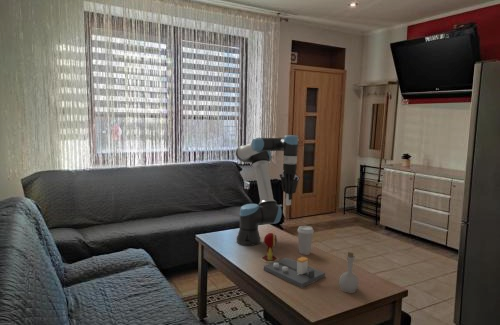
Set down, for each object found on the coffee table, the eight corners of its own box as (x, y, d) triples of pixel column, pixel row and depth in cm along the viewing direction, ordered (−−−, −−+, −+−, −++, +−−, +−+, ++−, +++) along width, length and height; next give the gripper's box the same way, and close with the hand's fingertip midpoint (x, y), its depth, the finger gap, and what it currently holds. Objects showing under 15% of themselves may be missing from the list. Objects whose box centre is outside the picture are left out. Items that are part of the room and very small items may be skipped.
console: (263, 269, 178) (263, 260, 178) (286, 260, 190) (287, 252, 190) (301, 287, 160) (302, 277, 159) (324, 276, 172) (325, 267, 171)
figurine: (279, 262, 187) (280, 236, 185) (260, 262, 187) (261, 235, 185) (277, 256, 196) (278, 231, 194) (260, 256, 196) (261, 230, 194)
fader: (296, 272, 171) (297, 258, 170) (302, 269, 174) (302, 256, 173) (301, 274, 168) (302, 260, 167) (307, 272, 171) (308, 258, 171)
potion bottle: (334, 289, 160) (337, 251, 157) (345, 283, 166) (347, 246, 164) (352, 296, 153) (354, 257, 151) (362, 289, 160) (364, 252, 157)
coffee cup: (312, 250, 207) (313, 225, 205) (313, 256, 198) (314, 230, 196) (296, 249, 208) (297, 224, 206) (296, 255, 199) (297, 229, 197)
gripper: (276, 162, 194) (275, 203, 197) (294, 165, 185) (293, 208, 187) (285, 161, 199) (284, 201, 202) (303, 164, 190) (301, 206, 192)
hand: (288, 204), depth 195 cm, fingers closed
